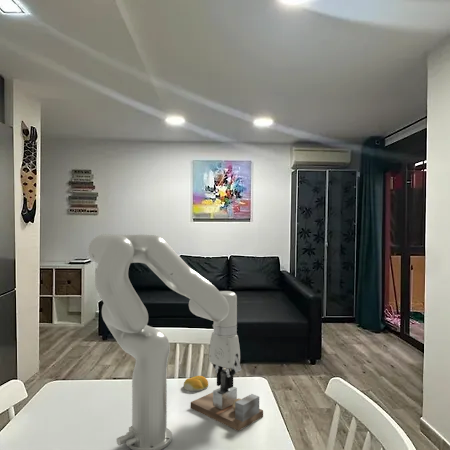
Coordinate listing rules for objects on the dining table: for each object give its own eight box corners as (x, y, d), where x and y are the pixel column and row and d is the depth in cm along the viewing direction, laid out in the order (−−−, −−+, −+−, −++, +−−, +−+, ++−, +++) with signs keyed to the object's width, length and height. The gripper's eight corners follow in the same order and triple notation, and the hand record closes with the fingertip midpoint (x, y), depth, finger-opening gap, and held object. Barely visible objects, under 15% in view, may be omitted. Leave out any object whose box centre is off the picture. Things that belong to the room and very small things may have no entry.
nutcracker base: (238, 431, 118) (238, 407, 118) (190, 408, 132) (190, 387, 132) (263, 416, 127) (263, 394, 127) (215, 396, 141) (215, 376, 141)
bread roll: (212, 386, 150) (212, 376, 150) (194, 394, 143) (194, 383, 143) (197, 380, 155) (197, 370, 155) (179, 387, 149) (179, 377, 149)
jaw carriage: (222, 409, 126) (222, 375, 126) (212, 405, 129) (213, 372, 128) (236, 402, 131) (236, 369, 131) (227, 398, 134) (227, 366, 134)
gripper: (199, 327, 132) (199, 382, 133) (236, 337, 121) (236, 397, 121) (215, 323, 138) (215, 376, 138) (252, 332, 127) (251, 390, 127)
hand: (224, 385), depth 130 cm, fingers closed on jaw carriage, 3 cm apart
